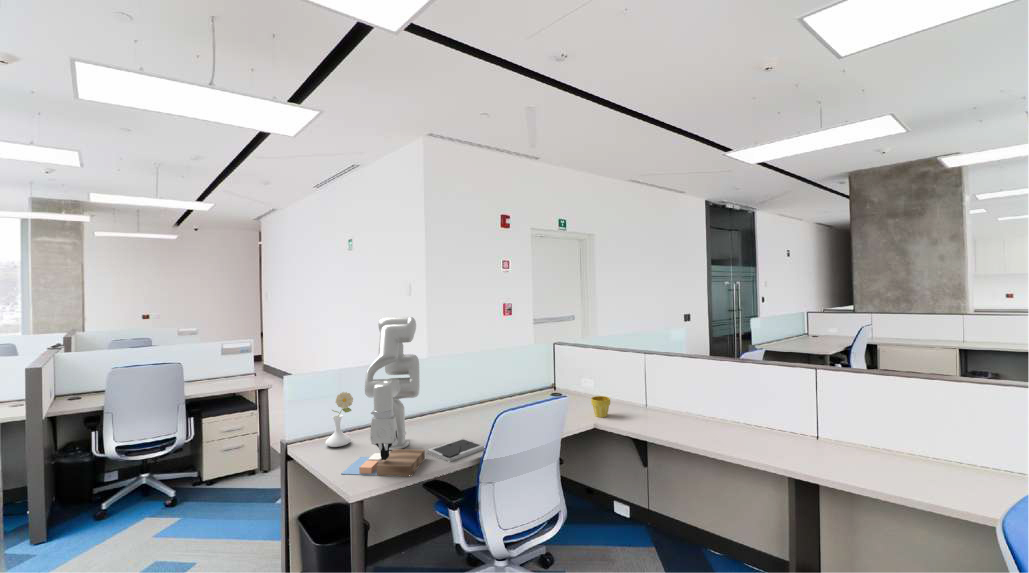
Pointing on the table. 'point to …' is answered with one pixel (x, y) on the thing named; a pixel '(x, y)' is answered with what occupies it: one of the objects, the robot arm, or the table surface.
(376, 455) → the white rectangular block
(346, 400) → the flower in vase
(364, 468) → the orange rectangular block
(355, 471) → the mat
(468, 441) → the picture frame
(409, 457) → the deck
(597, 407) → the plant pot
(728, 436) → the table surface
